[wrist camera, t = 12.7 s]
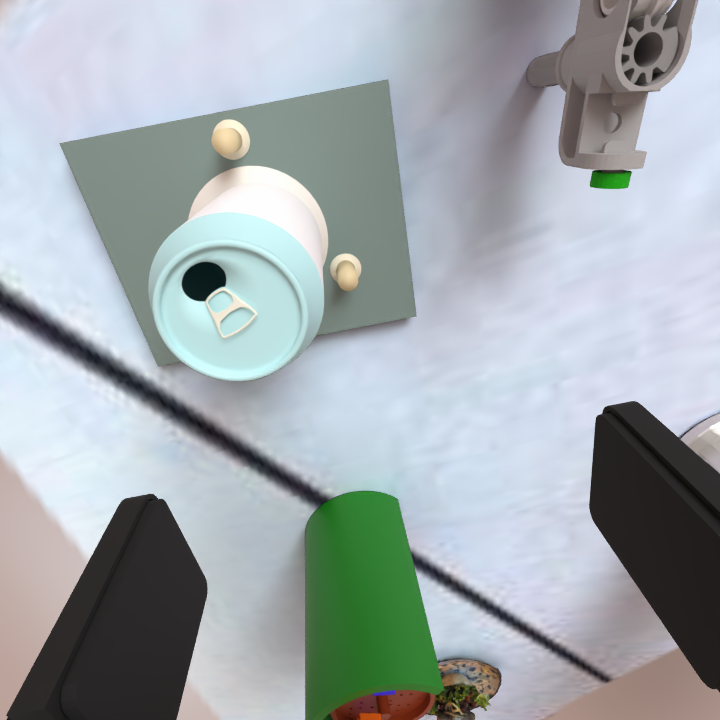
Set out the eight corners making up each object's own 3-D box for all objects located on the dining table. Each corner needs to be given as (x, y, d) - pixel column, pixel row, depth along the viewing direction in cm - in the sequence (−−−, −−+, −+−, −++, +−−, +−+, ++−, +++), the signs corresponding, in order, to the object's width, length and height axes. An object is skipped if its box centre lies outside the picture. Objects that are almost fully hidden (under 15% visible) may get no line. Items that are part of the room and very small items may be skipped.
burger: (515, 659, 56) (543, 731, 49) (457, 707, 60) (475, 780, 53) (439, 635, 52) (457, 710, 46) (382, 689, 56) (391, 764, 50)
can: (195, 279, 28) (123, 373, 18) (215, 163, 26) (144, 193, 15) (304, 309, 30) (298, 412, 19) (335, 202, 27) (348, 256, 17)
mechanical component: (504, 168, 29) (588, 191, 20) (527, -44, 24) (653, -139, 15) (550, 166, 29) (654, 187, 20) (582, -45, 24) (738, -138, 15)
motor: (393, 567, 45) (443, 852, 28) (303, 568, 44) (295, 865, 27) (408, 490, 41) (480, 774, 23) (307, 489, 40) (303, 787, 22)
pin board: (412, 308, 32) (424, 331, 29) (164, 356, 32) (146, 385, 29) (384, 81, 26) (395, 75, 22) (72, 142, 26) (34, 145, 22)
